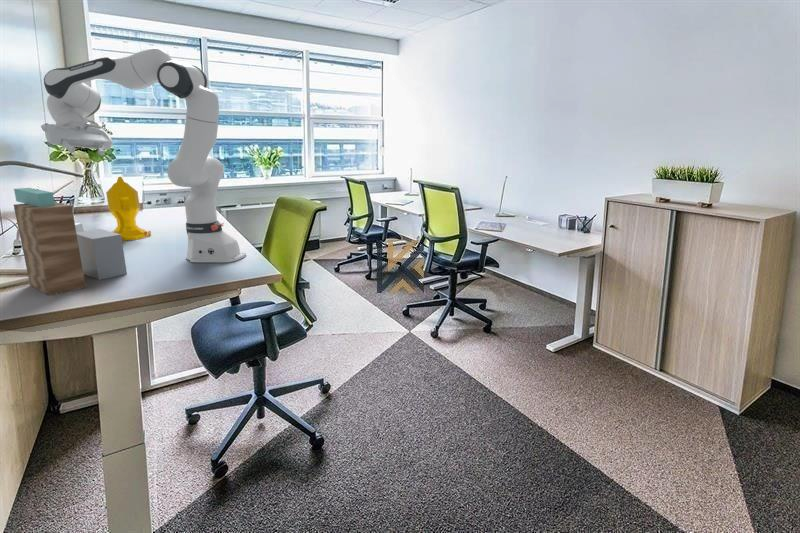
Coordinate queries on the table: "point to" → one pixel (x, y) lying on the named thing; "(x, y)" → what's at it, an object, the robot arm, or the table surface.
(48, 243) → the stand
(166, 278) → the table surface
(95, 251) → the block
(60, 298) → the table surface
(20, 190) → the bar
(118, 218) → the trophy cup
